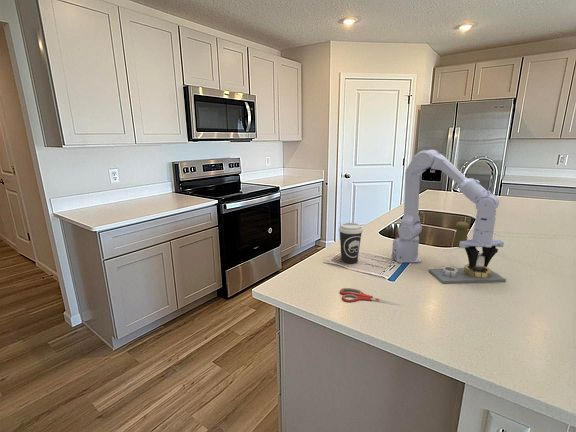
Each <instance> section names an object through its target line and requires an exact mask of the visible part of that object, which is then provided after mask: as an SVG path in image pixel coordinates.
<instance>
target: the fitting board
mask: <svg viewBox="0 0 576 432" xmlns="http://www.w3.org/2000/svg"><path fill="white" fill-rule="evenodd" d="M455 268H456V269H458V276H457V277H452V278H451V277H447V276H445V275H442V274H441V271H442V267H441V268H428V273H430V274H431V275H432V276H433V277H435V279H436V280H437V281H439V282H440V283H441V284H442V285H445V284H446V285H447V284H448V285H449V284H450V285H451V284H477V283H478V284H481V283H482V284H483V283H484V284H485V283H506V282H507V281H506V280H507V279H506V278H504V277H503V276H501V275H500V274H499V273H497V272H496V271H493V270H492V269H491V276H490V277H489V278H487V279H480V278H474V277H471V276H469V275H467V274H465V273H464V267H455Z"/></svg>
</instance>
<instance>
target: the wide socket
mask: <svg viewBox="0 0 576 432" xmlns="http://www.w3.org/2000/svg"><path fill="white" fill-rule="evenodd" d="M463 268H464V273H465V274H467V275H469V276H471V277H474V278H480V279H487V278H489V277H490V276H491V270H492V269H491V268H489V267H488V266H487V267H484V272H477V271H473V270H471V266H470V265H469V263H467V264H464V267H463Z"/></svg>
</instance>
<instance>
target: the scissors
mask: <svg viewBox="0 0 576 432" xmlns="http://www.w3.org/2000/svg"><path fill="white" fill-rule="evenodd" d="M339 293H340V295H342V296H341V301H342V302H344V303H355V302H361V301H364V302H376V303H382V304H387V305H393V306H399V307H402V306H403V305H402V304H399V303H395V302H393V301H392V302H391V301H388V300H385V299H381V298H379V297H374V296H373V295H369V294H366V293H364V292H363V291H362V290H360V289H356V288H351V287H350V288H349V287H343V288H340V290H339ZM347 298H349V299H347ZM350 298H351V299H350Z"/></svg>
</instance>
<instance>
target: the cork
mask: <svg viewBox="0 0 576 432" xmlns="http://www.w3.org/2000/svg"><path fill="white" fill-rule="evenodd" d="M455 228H456V229H455V230H456V231H455V234H454V238H453V240H452V246H454V247H456V248H460V246H459V243H460V241H466V240H468V230H469V229H470V224H469V223H468V222H465V221H457V223H456V224H455Z"/></svg>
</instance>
